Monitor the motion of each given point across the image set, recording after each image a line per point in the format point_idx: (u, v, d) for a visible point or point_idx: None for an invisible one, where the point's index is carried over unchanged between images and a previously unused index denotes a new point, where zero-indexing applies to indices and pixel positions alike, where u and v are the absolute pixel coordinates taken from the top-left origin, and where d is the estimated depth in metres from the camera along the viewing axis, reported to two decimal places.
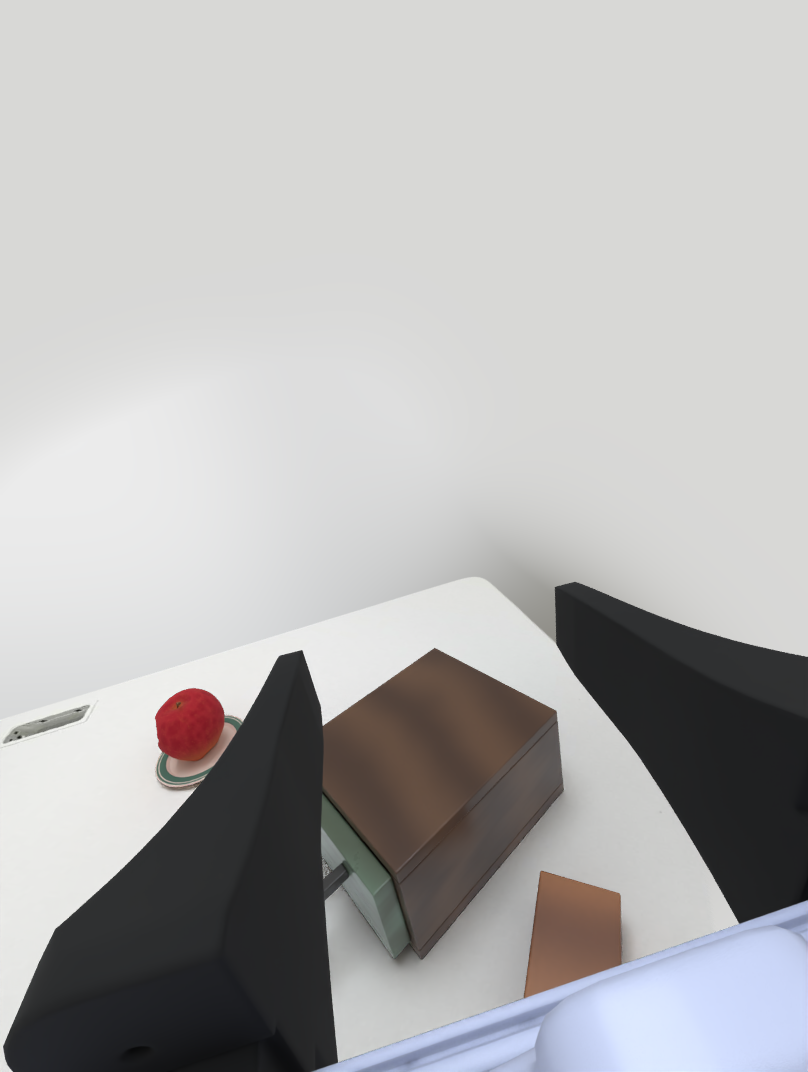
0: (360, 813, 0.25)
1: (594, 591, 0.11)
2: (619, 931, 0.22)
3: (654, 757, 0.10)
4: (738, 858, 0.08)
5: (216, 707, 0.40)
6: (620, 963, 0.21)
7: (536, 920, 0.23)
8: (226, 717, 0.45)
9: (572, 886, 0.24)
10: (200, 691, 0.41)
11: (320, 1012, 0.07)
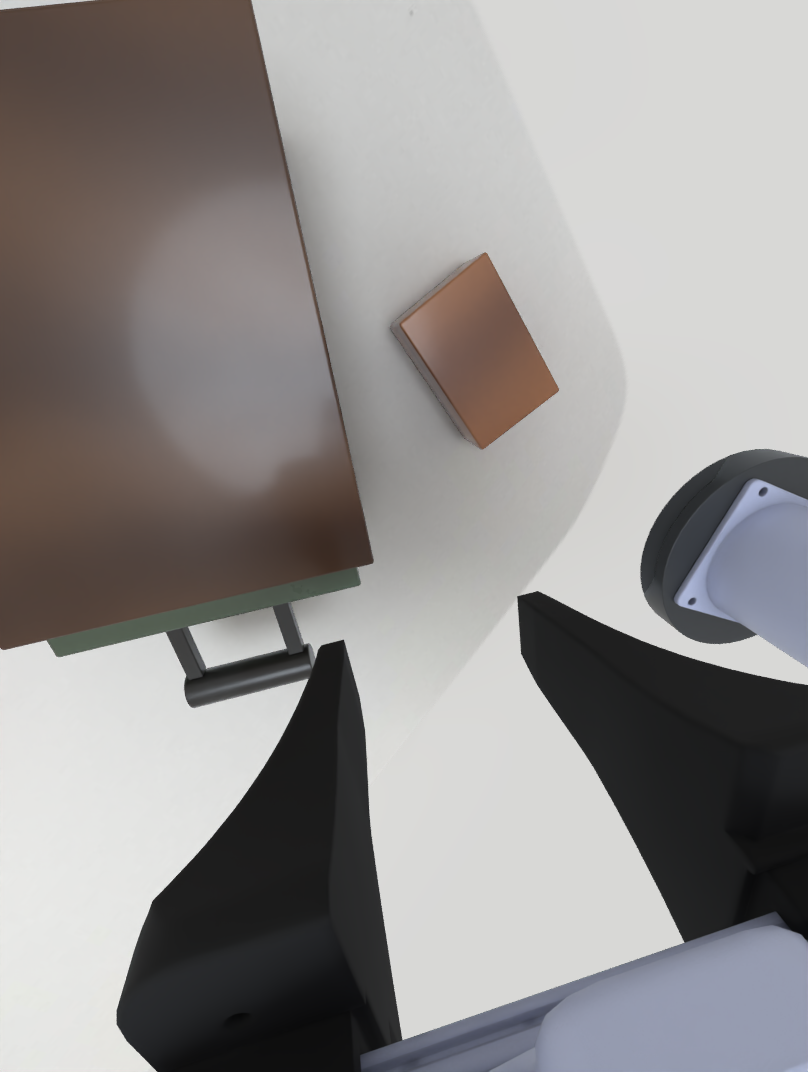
0: (248, 576, 0.14)
1: (554, 601, 0.11)
2: (509, 297, 0.17)
3: (607, 771, 0.10)
4: (681, 877, 0.08)
5: None
6: None
7: (438, 378, 0.17)
8: None
9: (441, 303, 0.16)
10: None
11: (387, 990, 0.07)
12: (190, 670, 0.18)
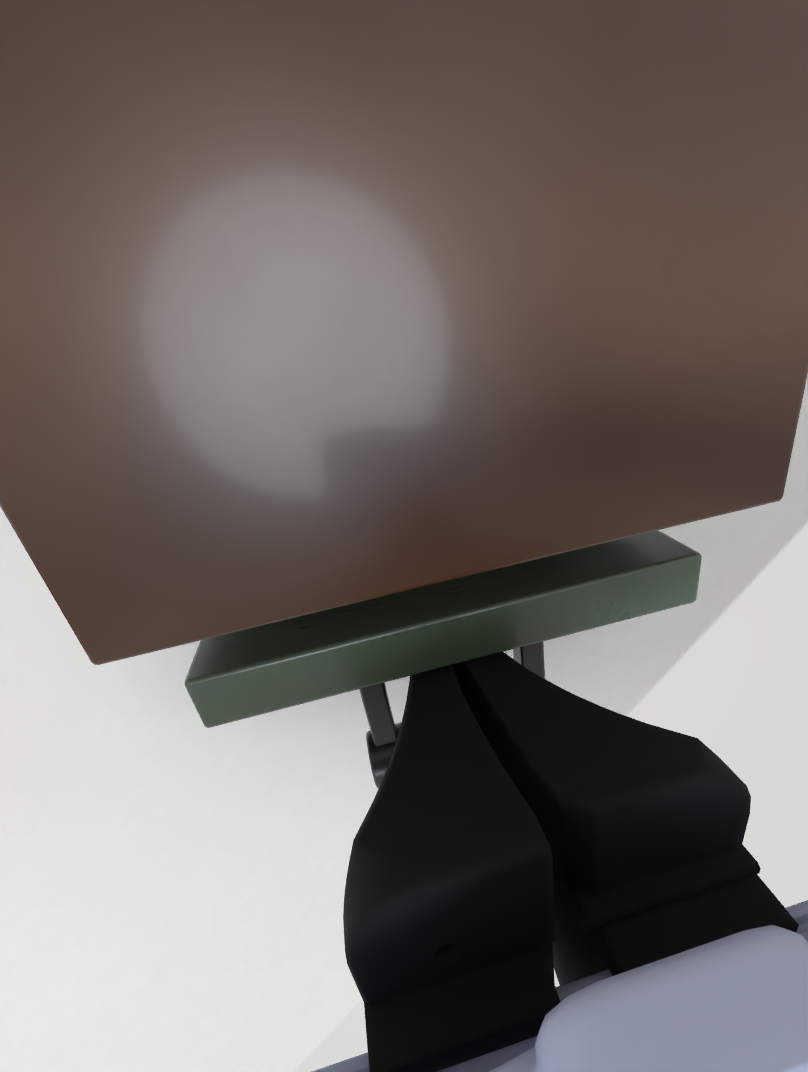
0: (571, 520, 0.07)
1: None
2: None
3: None
4: None
5: None
6: None
7: None
8: None
9: None
10: None
11: None
12: (381, 733, 0.11)
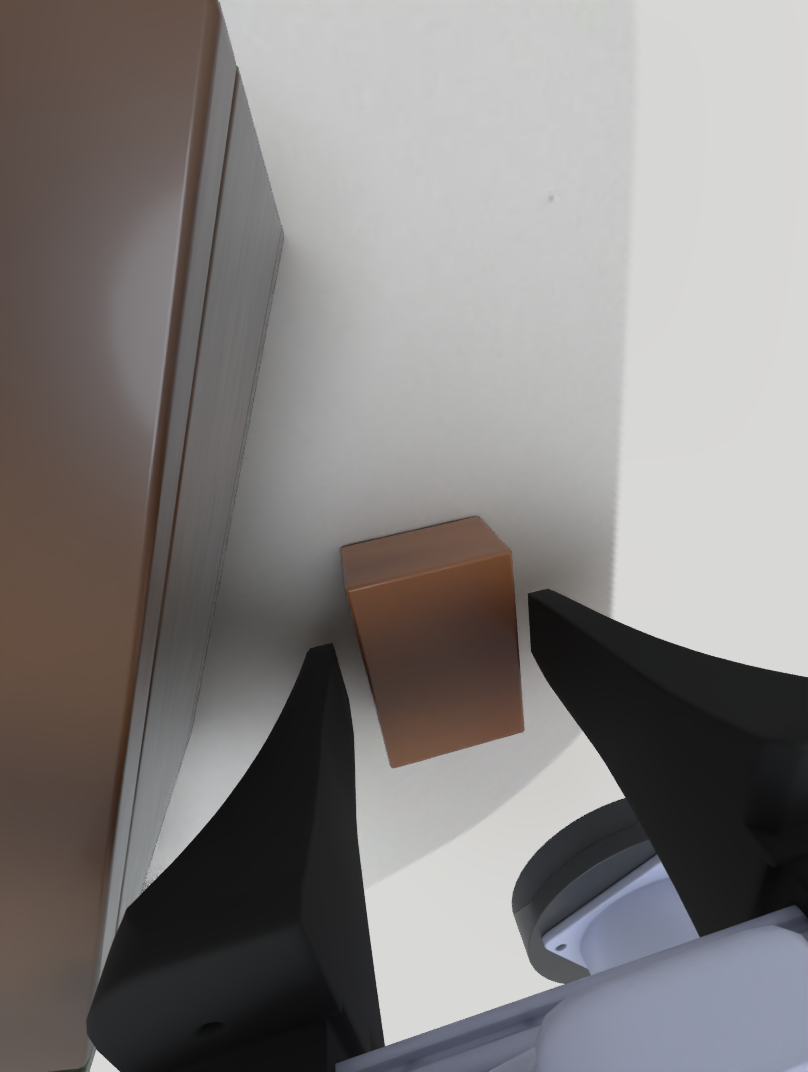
0: None
1: (565, 598, 0.11)
2: (514, 612, 0.11)
3: (620, 767, 0.10)
4: (697, 872, 0.08)
5: None
6: (518, 652, 0.12)
7: (371, 673, 0.11)
8: None
9: (419, 588, 0.10)
10: None
11: (369, 996, 0.07)
12: None
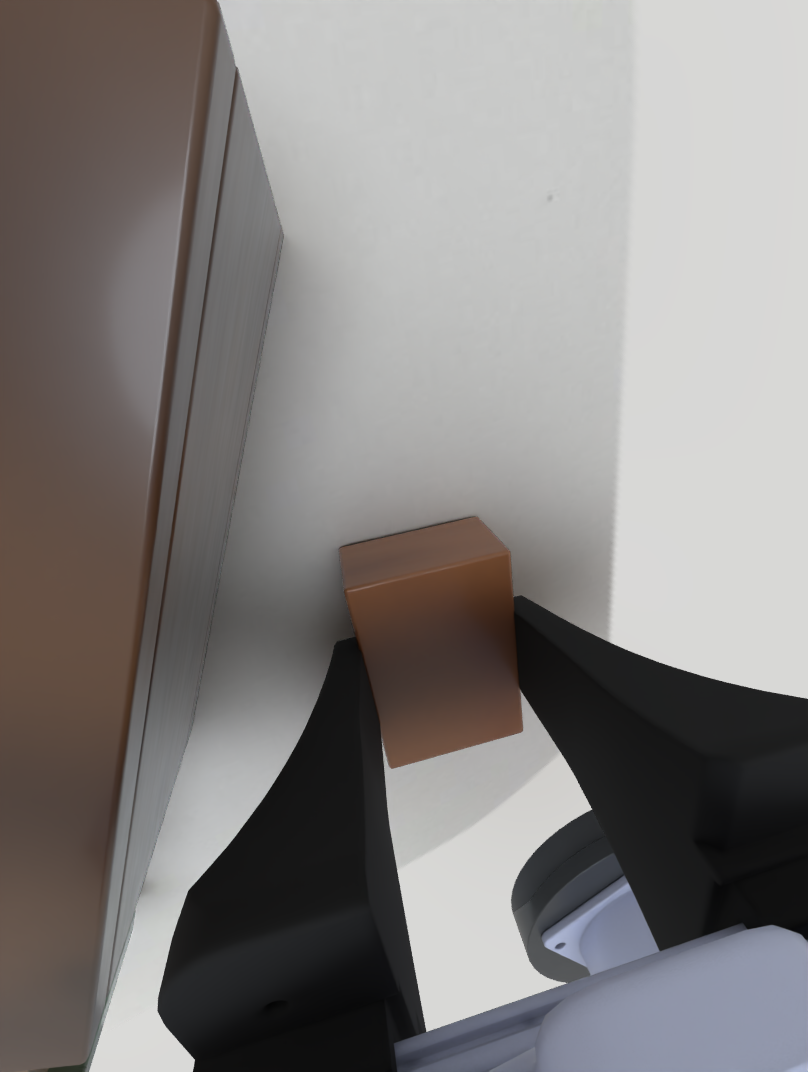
0: None
1: (535, 606, 0.11)
2: (513, 613, 0.11)
3: (586, 777, 0.10)
4: (654, 886, 0.08)
5: None
6: (516, 653, 0.12)
7: (370, 673, 0.11)
8: None
9: (418, 588, 0.10)
10: None
11: (412, 981, 0.07)
12: None
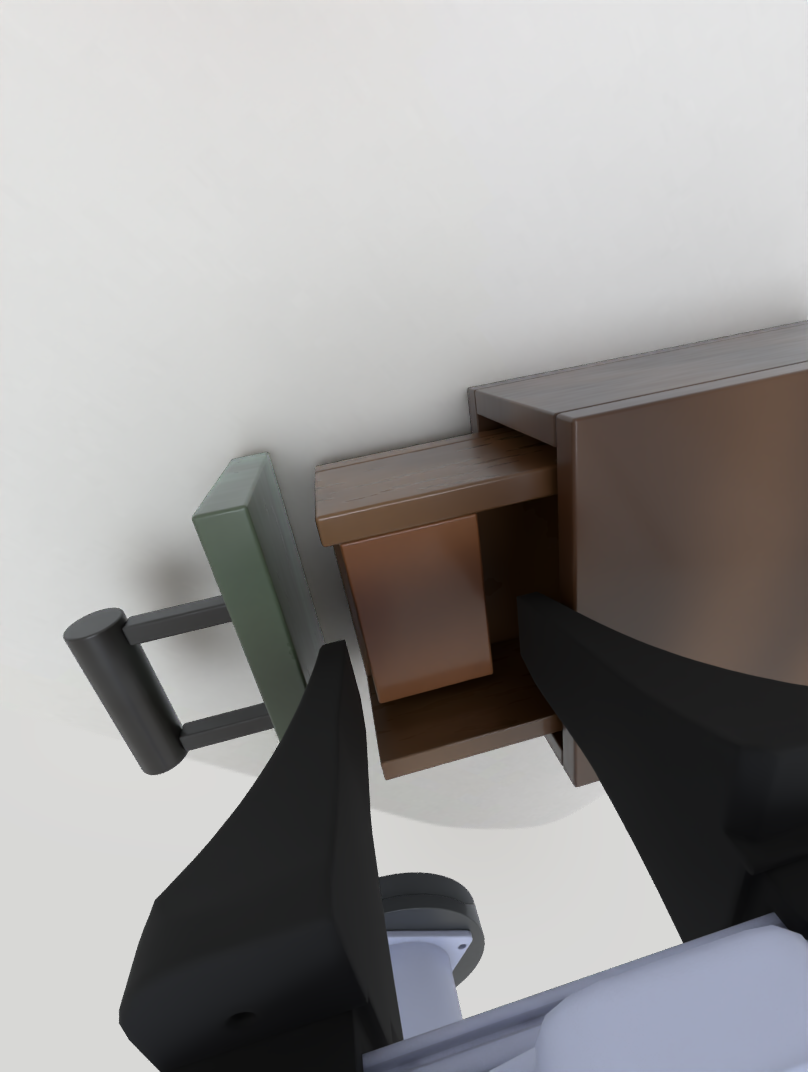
0: None
1: (553, 601, 0.11)
2: (481, 567, 0.13)
3: (606, 771, 0.10)
4: (679, 877, 0.08)
5: None
6: (485, 602, 0.14)
7: (362, 617, 0.13)
8: None
9: (401, 543, 0.13)
10: None
11: (389, 989, 0.07)
12: (142, 632, 0.12)
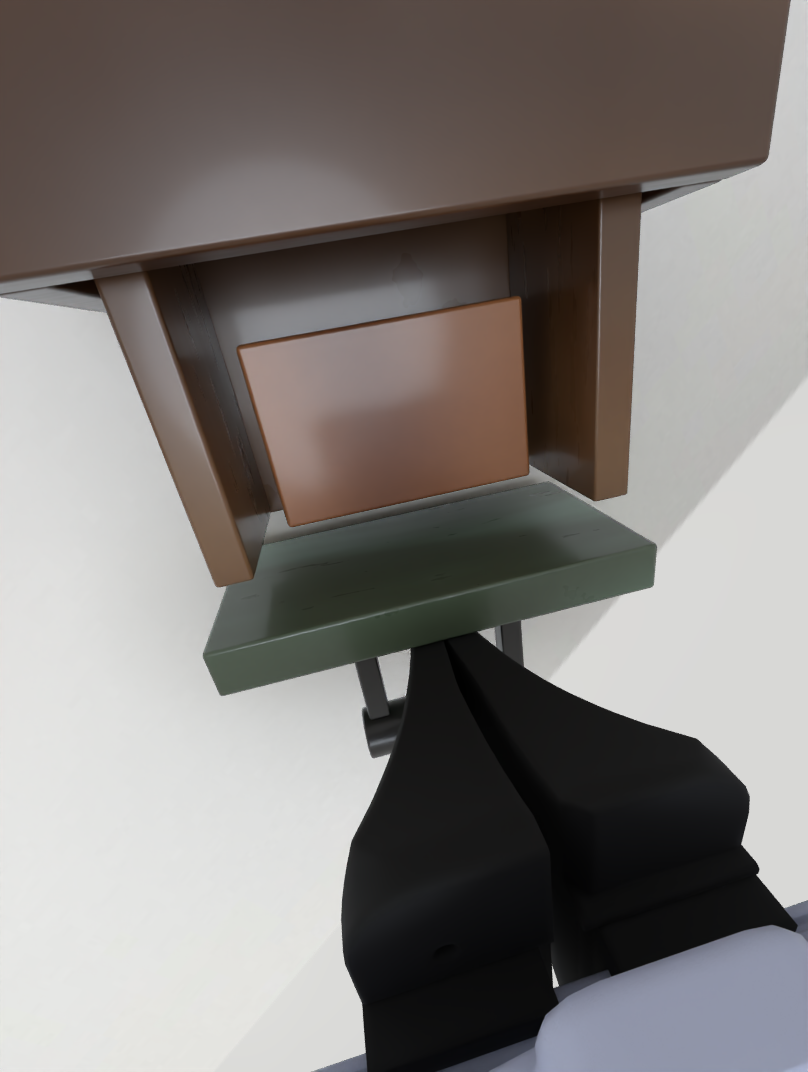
0: (521, 149, 0.06)
1: None
2: (324, 333, 0.09)
3: None
4: None
5: None
6: (386, 320, 0.09)
7: (391, 501, 0.11)
8: None
9: (286, 455, 0.10)
10: None
11: None
12: (375, 707, 0.12)
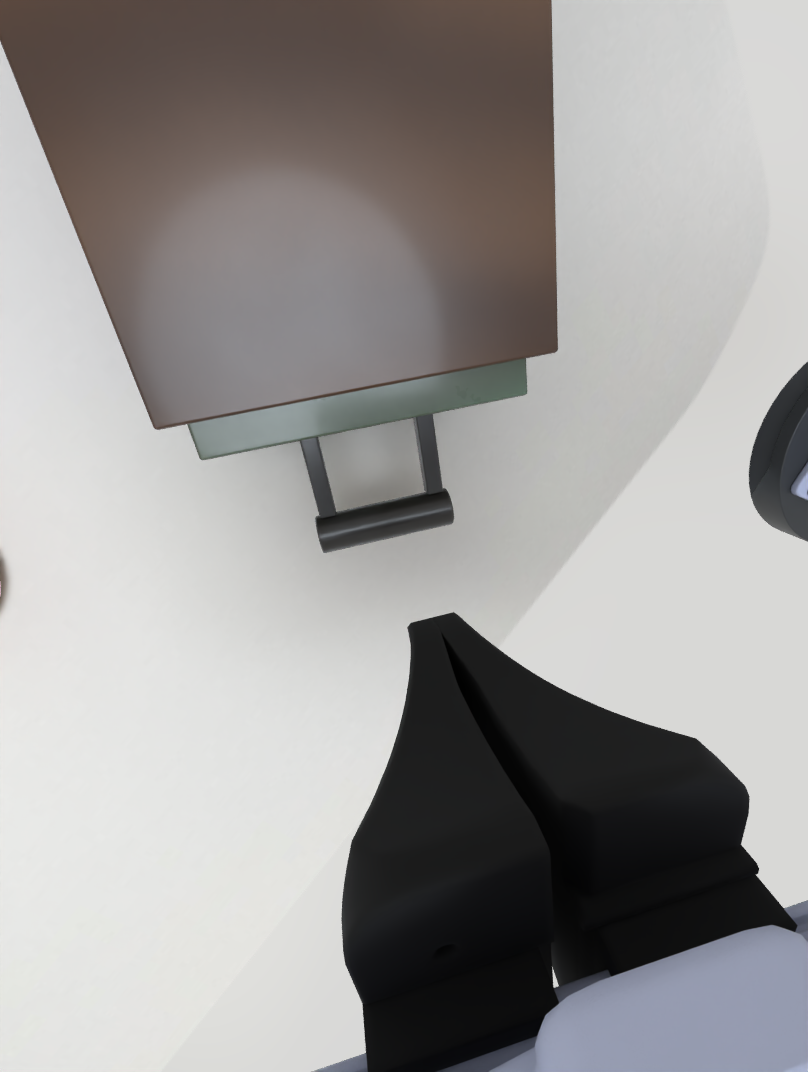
0: (426, 355, 0.13)
1: (462, 624, 0.11)
2: None
3: None
4: None
5: None
6: None
7: None
8: None
9: None
10: None
11: None
12: (324, 506, 0.16)
